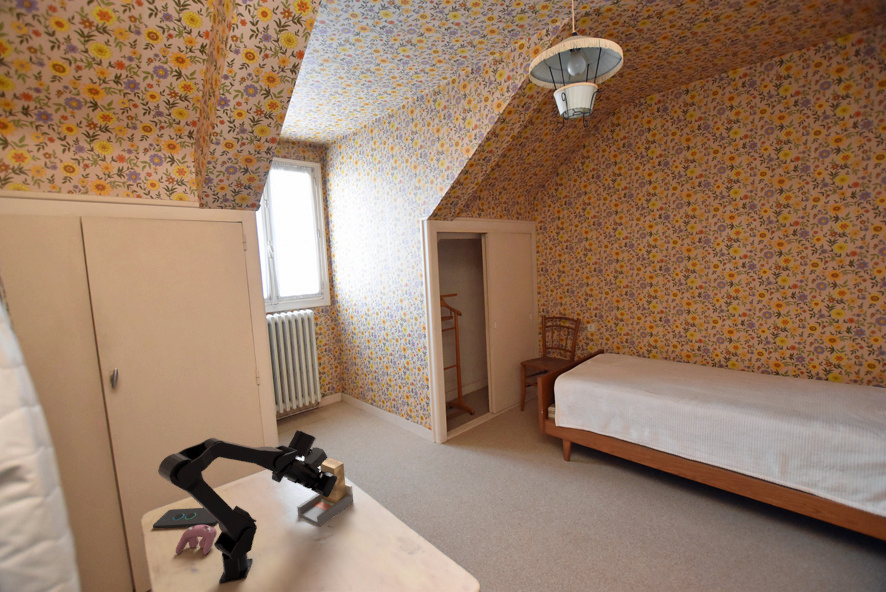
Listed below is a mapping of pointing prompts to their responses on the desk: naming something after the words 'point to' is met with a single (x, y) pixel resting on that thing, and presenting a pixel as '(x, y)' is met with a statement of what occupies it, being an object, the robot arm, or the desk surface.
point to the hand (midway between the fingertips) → (327, 486)
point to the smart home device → (185, 518)
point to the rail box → (324, 507)
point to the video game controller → (192, 538)
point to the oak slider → (339, 487)
